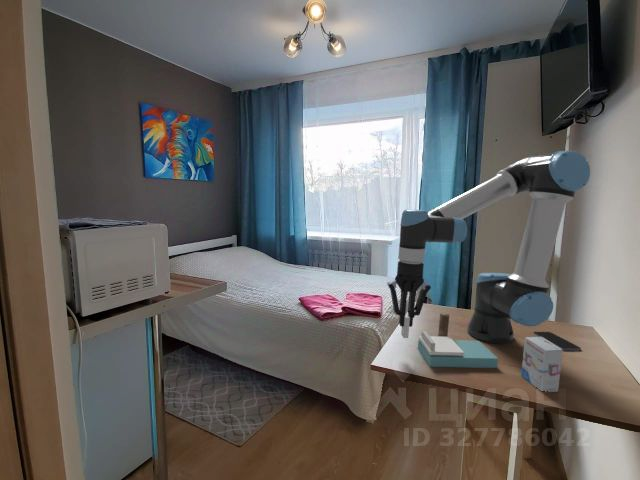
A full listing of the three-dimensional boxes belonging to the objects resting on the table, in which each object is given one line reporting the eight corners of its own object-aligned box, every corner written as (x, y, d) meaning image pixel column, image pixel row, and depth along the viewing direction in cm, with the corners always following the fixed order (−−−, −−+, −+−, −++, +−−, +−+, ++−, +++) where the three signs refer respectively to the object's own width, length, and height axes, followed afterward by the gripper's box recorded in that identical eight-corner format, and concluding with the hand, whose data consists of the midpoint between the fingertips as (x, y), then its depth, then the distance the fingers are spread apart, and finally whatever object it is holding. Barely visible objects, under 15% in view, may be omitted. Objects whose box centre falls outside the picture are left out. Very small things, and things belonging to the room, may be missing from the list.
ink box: (519, 375, 97) (524, 335, 95) (535, 374, 98) (540, 335, 96) (541, 392, 89) (546, 349, 87) (559, 392, 89) (565, 349, 87)
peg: (444, 340, 119) (447, 312, 117) (448, 344, 116) (450, 316, 114) (436, 340, 119) (438, 312, 117) (439, 343, 116) (441, 315, 114)
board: (477, 349, 113) (478, 340, 112) (497, 368, 101) (498, 358, 100) (417, 348, 112) (418, 339, 112) (429, 366, 100) (430, 356, 100)
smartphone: (550, 331, 129) (582, 348, 114) (549, 334, 129) (582, 351, 114) (531, 331, 128) (562, 348, 113) (531, 334, 128) (561, 351, 113)
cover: (449, 339, 111) (450, 330, 111) (463, 355, 100) (464, 345, 100) (418, 338, 111) (419, 329, 111) (430, 355, 100) (431, 344, 100)
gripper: (428, 259, 106) (421, 331, 109) (386, 258, 105) (381, 330, 109) (436, 264, 98) (429, 342, 102) (392, 263, 98) (386, 340, 101)
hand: (404, 336), depth 105 cm, fingers closed
